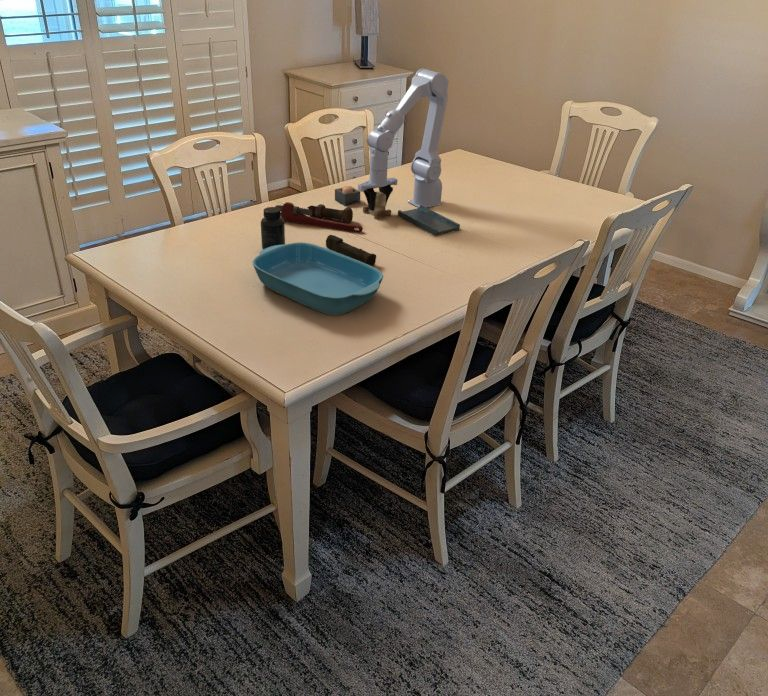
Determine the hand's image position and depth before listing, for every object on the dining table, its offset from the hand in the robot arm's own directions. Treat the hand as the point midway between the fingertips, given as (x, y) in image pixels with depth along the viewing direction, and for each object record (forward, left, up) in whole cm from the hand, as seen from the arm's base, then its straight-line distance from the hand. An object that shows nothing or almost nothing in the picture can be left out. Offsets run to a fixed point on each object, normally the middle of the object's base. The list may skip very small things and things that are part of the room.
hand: (377, 208), depth 229 cm
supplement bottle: (+43, +8, -2) cm, 44 cm away
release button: (+2, -15, -1) cm, 15 cm away
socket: (0, 0, -2) cm, 2 cm away
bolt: (+16, -4, -2) cm, 17 cm away
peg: (0, 0, -2) cm, 2 cm away
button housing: (+2, -15, -2) cm, 15 cm away
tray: (-10, +15, -2) cm, 18 cm away
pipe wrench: (+23, -1, -2) cm, 23 cm away
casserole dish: (+46, +38, -2) cm, 60 cm away
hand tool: (+27, +24, -2) cm, 37 cm away
